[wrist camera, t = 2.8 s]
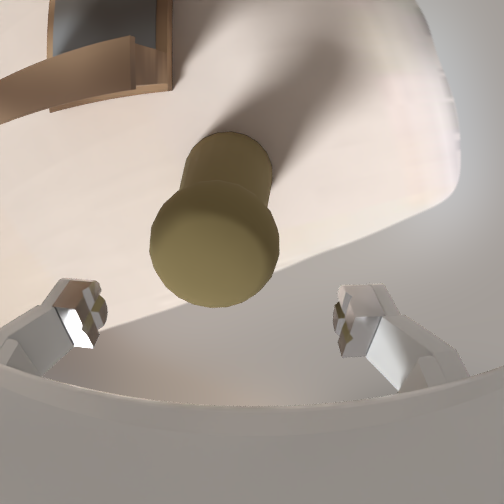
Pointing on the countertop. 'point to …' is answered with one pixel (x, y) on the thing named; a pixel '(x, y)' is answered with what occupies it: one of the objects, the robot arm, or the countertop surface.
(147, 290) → the countertop surface
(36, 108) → the holder
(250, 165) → the olive green bulbous cylinder
